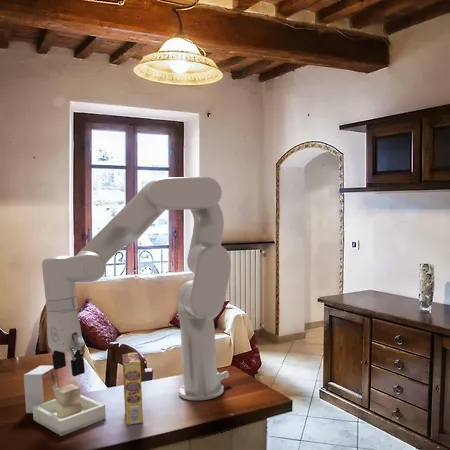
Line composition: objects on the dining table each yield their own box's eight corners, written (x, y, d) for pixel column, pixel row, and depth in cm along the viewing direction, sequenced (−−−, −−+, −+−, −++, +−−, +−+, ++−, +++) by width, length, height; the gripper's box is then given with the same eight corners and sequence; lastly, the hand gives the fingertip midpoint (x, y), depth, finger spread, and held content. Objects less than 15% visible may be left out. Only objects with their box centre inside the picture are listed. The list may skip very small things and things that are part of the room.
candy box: (144, 423, 120) (140, 361, 119) (126, 425, 118) (122, 363, 118) (141, 409, 128) (137, 351, 128) (125, 412, 127) (121, 353, 127)
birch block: (73, 410, 128) (71, 383, 127) (81, 414, 124) (79, 387, 124) (56, 416, 124) (54, 389, 124) (65, 420, 121) (63, 392, 121)
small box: (44, 414, 129) (41, 374, 129) (25, 413, 130) (22, 374, 130) (60, 402, 137) (58, 364, 137) (42, 401, 138) (40, 364, 138)
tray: (76, 404, 134) (75, 392, 134) (105, 418, 124) (104, 404, 123) (33, 420, 125) (32, 406, 125) (61, 436, 115) (60, 421, 115)
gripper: (32, 305, 127) (39, 370, 128) (64, 310, 115) (72, 382, 116) (59, 299, 133) (66, 361, 133) (92, 304, 120) (100, 372, 121)
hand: (69, 371), depth 124 cm, fingers open, 9 cm apart
